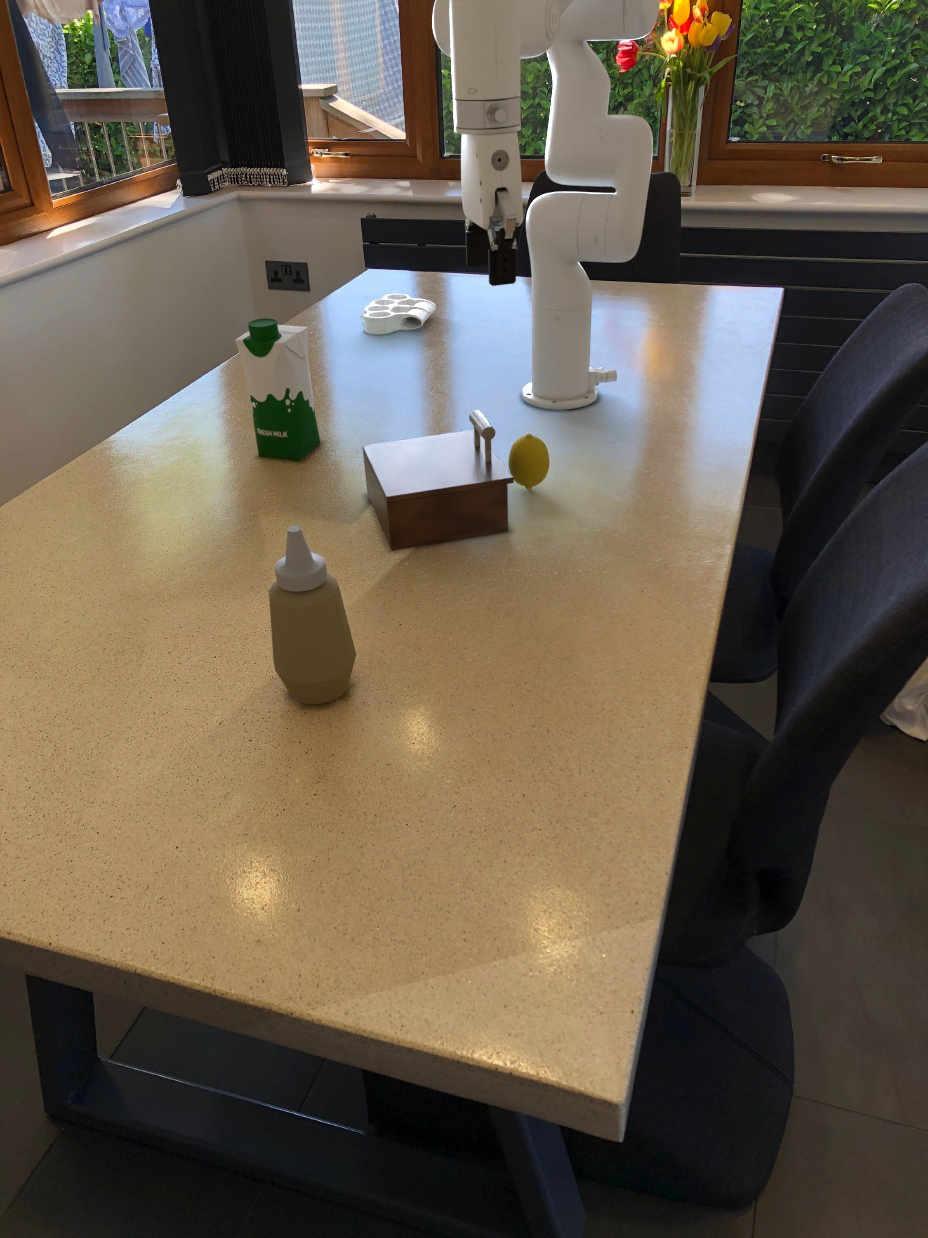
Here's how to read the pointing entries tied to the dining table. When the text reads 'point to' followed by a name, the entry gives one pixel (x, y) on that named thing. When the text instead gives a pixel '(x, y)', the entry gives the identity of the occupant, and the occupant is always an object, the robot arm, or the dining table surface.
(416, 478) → the lid
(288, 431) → the milk carton
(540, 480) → the lemon
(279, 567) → the squeeze bottle
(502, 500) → the box
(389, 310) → the white multi-hole holder
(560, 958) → the dining table surface
